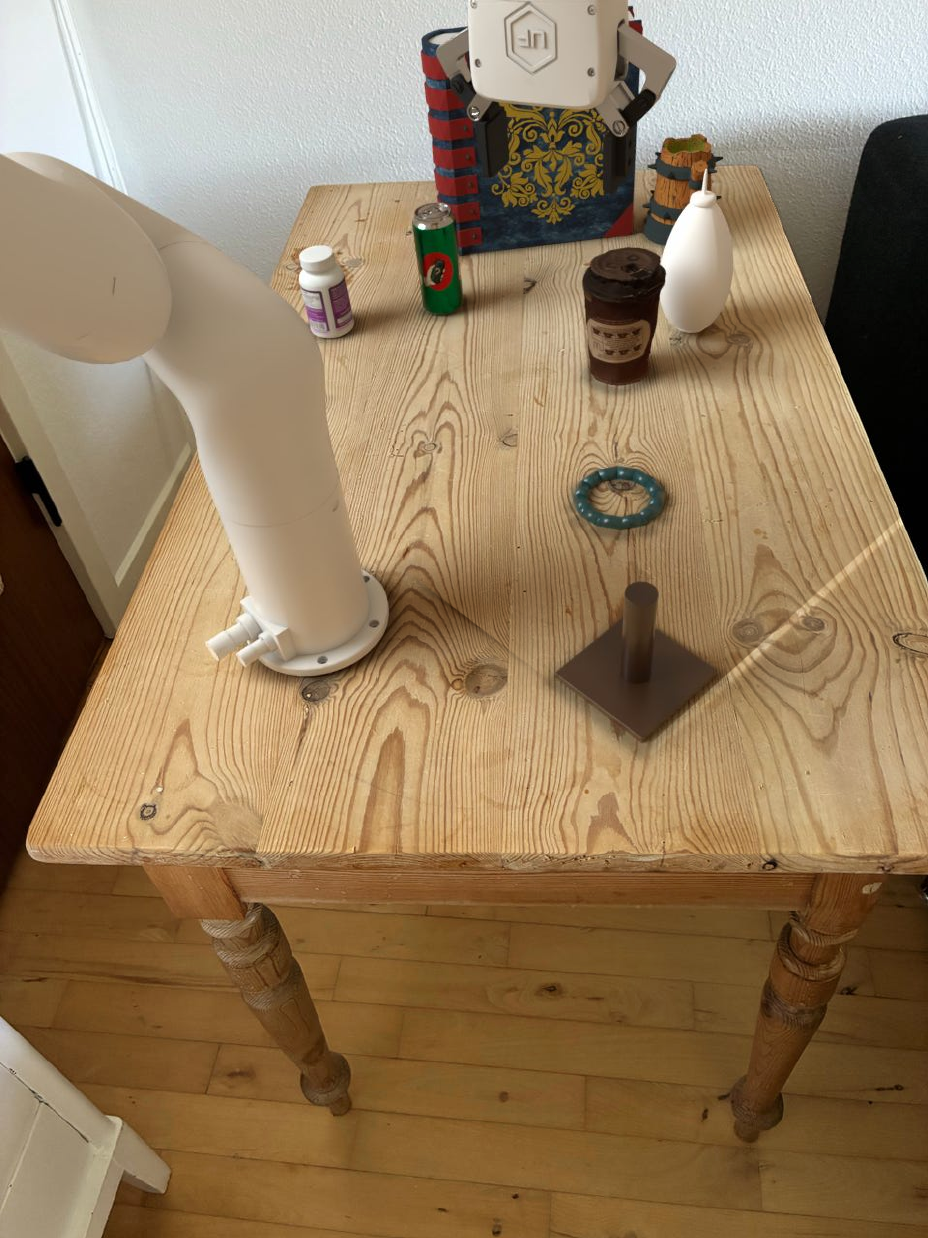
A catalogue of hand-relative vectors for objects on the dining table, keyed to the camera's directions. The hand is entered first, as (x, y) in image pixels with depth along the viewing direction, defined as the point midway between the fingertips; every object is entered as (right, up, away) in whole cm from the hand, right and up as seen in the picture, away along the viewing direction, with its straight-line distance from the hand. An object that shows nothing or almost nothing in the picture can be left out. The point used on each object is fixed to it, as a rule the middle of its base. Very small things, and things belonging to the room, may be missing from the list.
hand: (554, 177), depth 69 cm
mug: (+22, +17, +53) cm, 60 cm away
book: (+3, +19, +56) cm, 59 cm away
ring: (+8, -21, +19) cm, 30 cm away
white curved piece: (+19, +1, +38) cm, 43 cm away
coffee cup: (+10, -6, +33) cm, 36 cm away
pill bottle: (-23, +3, +45) cm, 51 cm away
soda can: (-9, +6, +46) cm, 47 cm away
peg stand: (+7, -38, +5) cm, 39 cm away
